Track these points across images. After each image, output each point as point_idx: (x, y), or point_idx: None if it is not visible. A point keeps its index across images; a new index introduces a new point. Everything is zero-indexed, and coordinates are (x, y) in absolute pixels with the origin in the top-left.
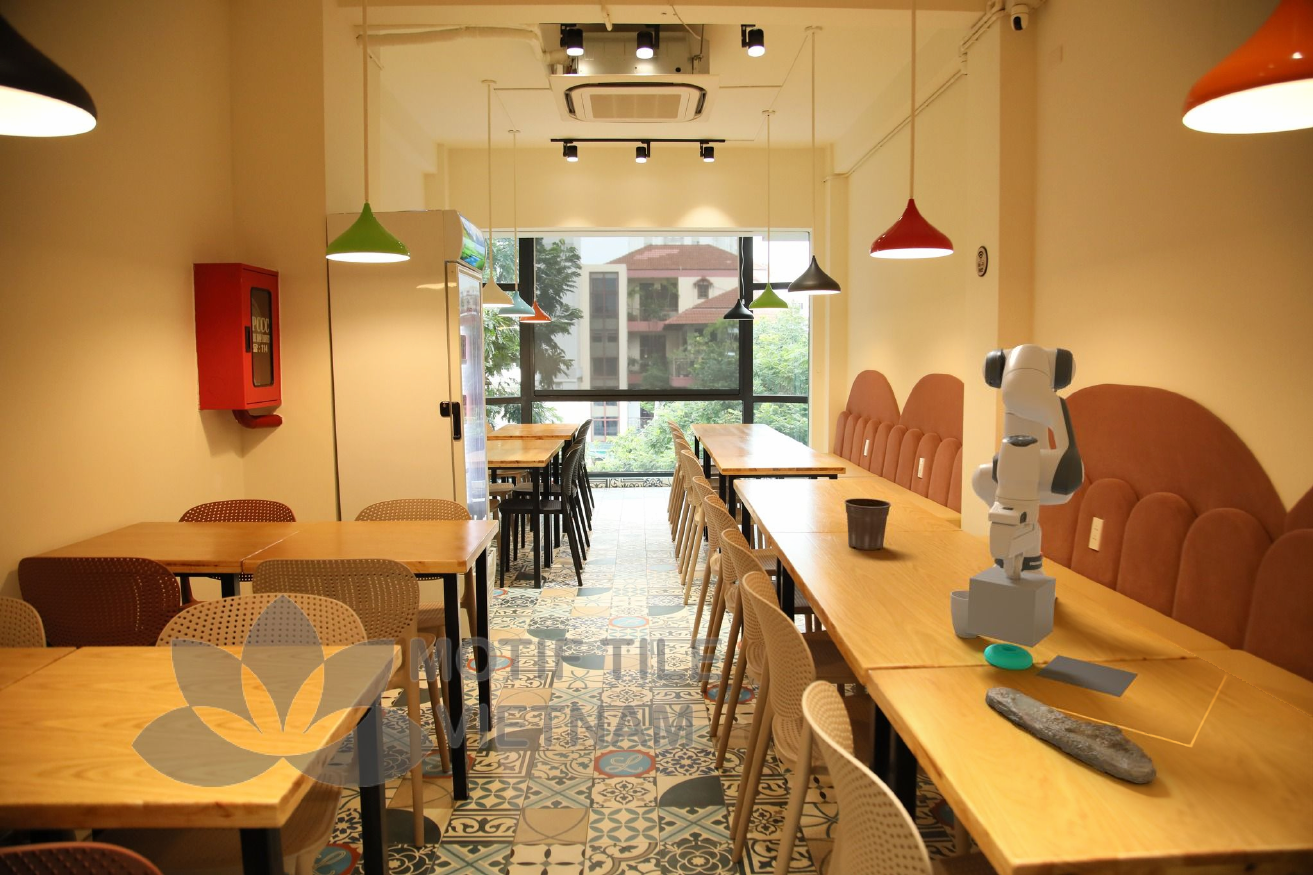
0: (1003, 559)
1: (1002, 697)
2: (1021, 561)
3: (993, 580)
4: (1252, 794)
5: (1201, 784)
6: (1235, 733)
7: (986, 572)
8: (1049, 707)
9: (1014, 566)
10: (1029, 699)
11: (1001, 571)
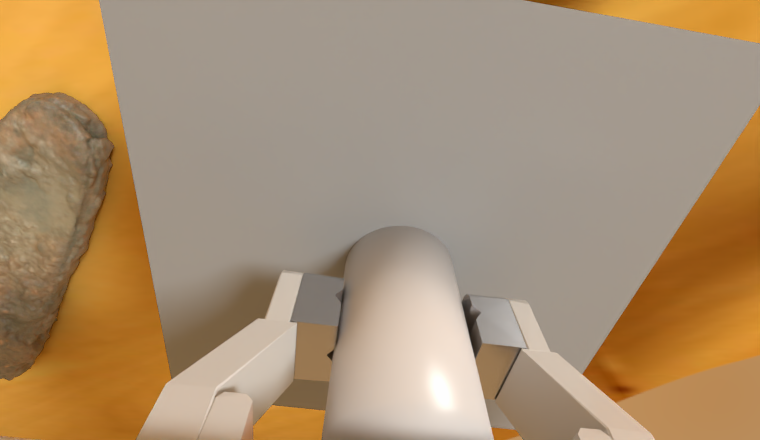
0: (177, 381)
1: (9, 151)
2: (503, 411)
3: (204, 166)
4: (97, 429)
5: (68, 397)
6: (285, 426)
7: (477, 47)
8: (55, 249)
9: (307, 377)
10: (64, 207)
11: (587, 168)
